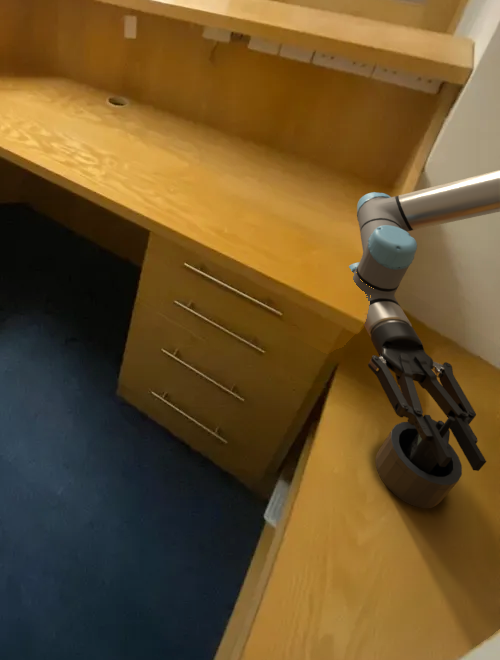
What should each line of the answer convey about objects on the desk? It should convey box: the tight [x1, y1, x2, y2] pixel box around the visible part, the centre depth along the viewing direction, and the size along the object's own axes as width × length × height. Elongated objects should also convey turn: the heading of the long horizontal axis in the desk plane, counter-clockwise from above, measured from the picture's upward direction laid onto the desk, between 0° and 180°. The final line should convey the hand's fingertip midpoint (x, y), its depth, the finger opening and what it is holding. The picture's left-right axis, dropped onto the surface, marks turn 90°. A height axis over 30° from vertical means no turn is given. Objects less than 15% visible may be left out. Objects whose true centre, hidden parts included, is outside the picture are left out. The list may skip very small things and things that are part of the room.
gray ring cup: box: [375, 421, 463, 509], centre depth 87 cm, size 10×10×8 cm
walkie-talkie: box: [406, 417, 455, 474], centre depth 83 cm, size 5×3×15 cm
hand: (462, 463), depth 76 cm, fingers closed on walkie-talkie, 4 cm apart
